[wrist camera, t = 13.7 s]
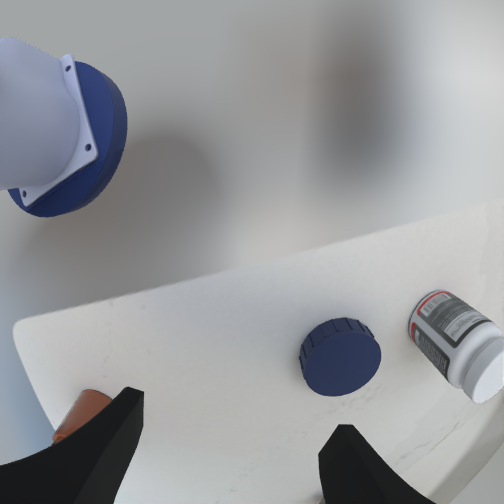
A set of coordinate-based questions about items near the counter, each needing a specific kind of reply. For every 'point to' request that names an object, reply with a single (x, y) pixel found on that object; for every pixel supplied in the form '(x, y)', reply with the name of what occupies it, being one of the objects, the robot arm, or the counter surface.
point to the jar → (81, 413)
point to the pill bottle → (460, 344)
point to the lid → (339, 357)
